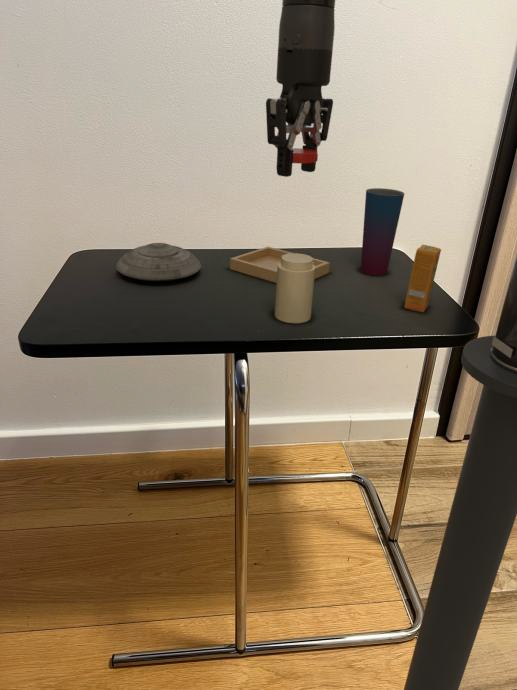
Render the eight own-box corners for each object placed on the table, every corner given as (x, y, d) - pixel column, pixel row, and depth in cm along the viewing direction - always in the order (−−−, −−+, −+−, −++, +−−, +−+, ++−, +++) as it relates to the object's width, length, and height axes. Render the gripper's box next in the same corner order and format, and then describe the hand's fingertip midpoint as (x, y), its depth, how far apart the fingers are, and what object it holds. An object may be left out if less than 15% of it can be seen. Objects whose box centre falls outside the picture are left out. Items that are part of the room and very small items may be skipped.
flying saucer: (189, 258, 107) (188, 230, 104) (211, 283, 94) (211, 252, 92) (111, 263, 102) (108, 235, 99) (123, 291, 89) (121, 259, 87)
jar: (316, 314, 84) (322, 256, 80) (301, 326, 79) (306, 266, 75) (284, 306, 86) (288, 250, 82) (268, 317, 82) (271, 259, 78)
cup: (353, 274, 102) (363, 192, 96) (358, 264, 108) (368, 186, 101) (389, 279, 100) (402, 196, 94) (393, 268, 106) (406, 190, 100)
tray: (328, 273, 102) (329, 262, 101) (293, 288, 94) (294, 276, 93) (267, 256, 110) (267, 246, 109) (229, 269, 102) (230, 258, 101)
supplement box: (425, 313, 86) (437, 252, 82) (403, 308, 87) (414, 248, 83) (429, 307, 89) (441, 247, 84) (409, 302, 90) (419, 243, 86)
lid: (269, 160, 80) (269, 150, 80) (292, 156, 85) (292, 147, 84) (302, 164, 77) (303, 154, 77) (324, 160, 81) (325, 151, 81)
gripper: (311, 49, 81) (302, 165, 89) (251, 42, 71) (246, 175, 79) (355, 50, 77) (341, 172, 85) (298, 43, 67) (289, 182, 75)
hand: (296, 173), depth 82 cm, fingers closed on lid, 5 cm apart
